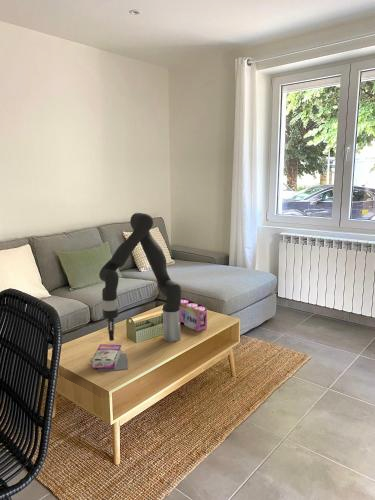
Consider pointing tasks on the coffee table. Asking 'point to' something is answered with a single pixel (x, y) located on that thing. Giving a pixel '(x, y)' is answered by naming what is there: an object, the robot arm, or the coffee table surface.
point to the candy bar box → (106, 356)
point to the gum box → (193, 314)
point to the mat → (119, 366)
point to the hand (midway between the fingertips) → (111, 340)
